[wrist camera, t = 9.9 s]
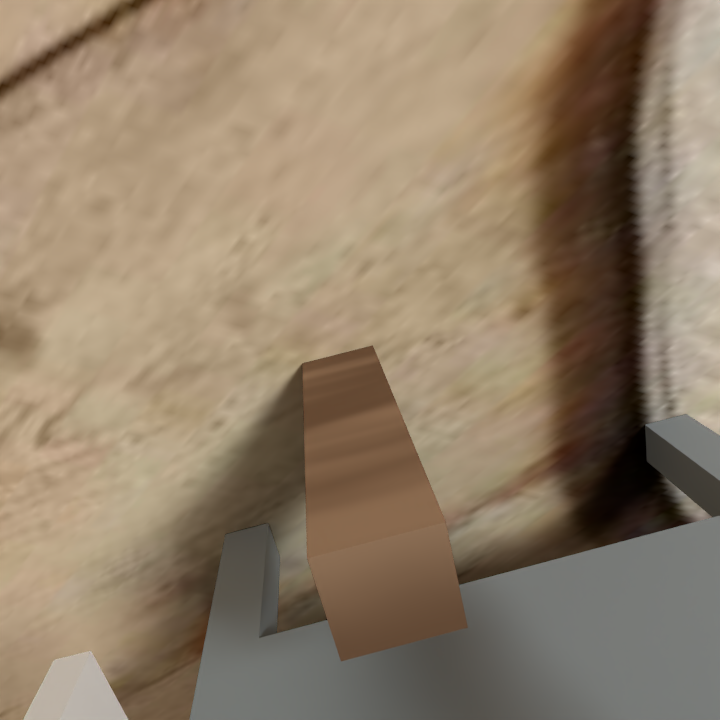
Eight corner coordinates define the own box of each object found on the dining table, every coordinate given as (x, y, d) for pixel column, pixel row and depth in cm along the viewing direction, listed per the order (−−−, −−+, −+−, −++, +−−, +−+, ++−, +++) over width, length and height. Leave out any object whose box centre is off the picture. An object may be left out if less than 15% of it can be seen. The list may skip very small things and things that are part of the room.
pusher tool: (267, 372, 23) (237, 576, 11) (407, 336, 23) (514, 503, 12) (363, 680, 29) (405, 1006, 18) (473, 650, 29) (583, 956, 18)
